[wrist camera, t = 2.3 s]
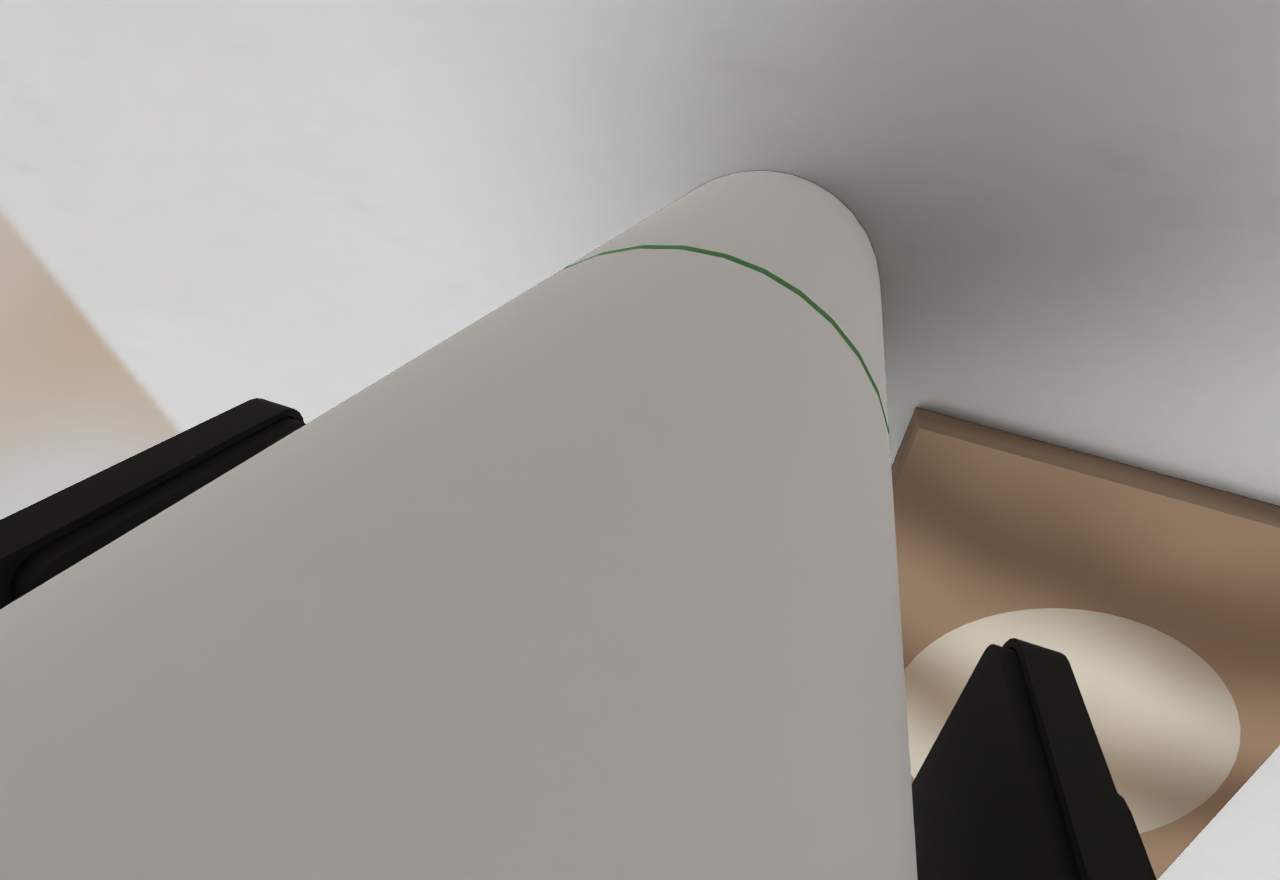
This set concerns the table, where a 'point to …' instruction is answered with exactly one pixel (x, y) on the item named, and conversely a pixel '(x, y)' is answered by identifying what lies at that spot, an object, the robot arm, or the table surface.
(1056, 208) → the table surface
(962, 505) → the walnut board
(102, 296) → the table surface
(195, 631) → the cylindrical container
